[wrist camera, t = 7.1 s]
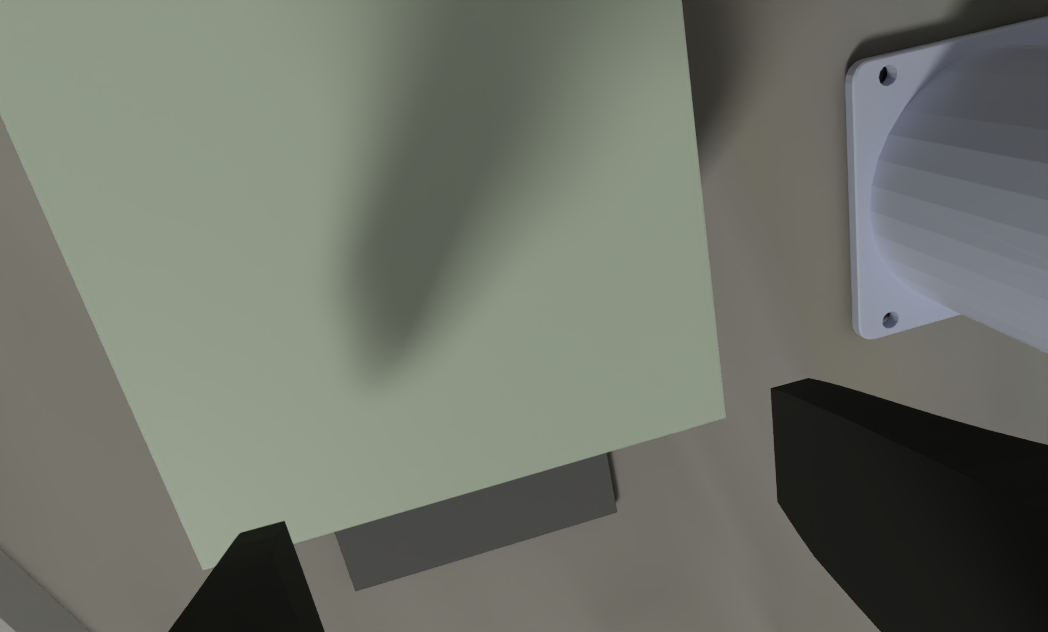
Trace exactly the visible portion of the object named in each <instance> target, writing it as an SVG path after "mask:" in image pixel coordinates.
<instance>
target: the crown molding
mask: <svg viewBox="0 0 1048 632" xmlns="http://www.w3.org/2000/svg"><path fill="white" fill-rule="evenodd" d="M0 632H90V631H88V630H87V629H86V628H85V627H84V626H83V625H82V624H81V623H80V622H79V621H78V620H76V619H75V618H74V617H73V616H72V615H71V614H70V613H69V612H68V611H67V610H66V609H64V608H63V607H62V606H61V605H60V604H59V603H58V602H57V601H56V600H55V599H54V598H53V597H51V596H50V595H49V594H48V593H47V592H46V591H45V590H44V589H43V588H42V587H41V586H39V585H38V584H37V583H36V582H35V581H34V580H33V579H32V578H31V577H30V576H29V575H28V574H26V573H25V572H24V571H23V570H22V569H21V568H20V567H19V566H18V565H17V564H16V563H14V562H13V561H12V560H11V559H10V558H9V557H8V556H7V555H6V554H5V553H4V552H2V551H1V550H0Z"/></svg>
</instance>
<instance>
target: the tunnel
mask: <svg viewBox="0 0 1048 632" xmlns="http://www.w3.org/2000/svg"><path fill="white" fill-rule="evenodd" d="M0 115H1V117H2V120H3V122H4V124H5V126H6V129H7V131H8V133H9V135H10V138H11V140H12V142H13V144H14V147H15V149H16V151H17V153H18V156H19V158H20V160H21V162H22V165H23V167H24V169H25V171H26V174H27V176H28V178H29V180H30V183H31V185H32V187H33V189H34V192H35V194H36V196H37V198H38V201H39V203H40V205H41V207H42V210H43V212H44V214H45V216H46V219H47V221H48V223H49V225H50V228H51V230H52V232H53V234H54V237H55V239H56V241H57V243H58V246H59V248H60V250H61V252H62V255H63V257H64V259H65V261H66V264H67V266H68V268H69V270H70V273H71V275H72V277H73V279H74V282H75V284H76V286H77V288H78V291H79V293H80V295H81V297H82V300H83V302H84V304H85V306H86V309H87V311H88V313H89V315H90V318H91V320H92V322H93V324H94V327H95V329H96V331H97V333H98V336H99V338H100V340H101V342H102V344H103V347H104V349H105V351H106V353H107V356H108V358H109V360H110V362H111V365H112V367H113V369H114V371H115V374H116V376H117V378H118V380H119V383H120V385H121V387H122V389H123V392H124V394H125V396H126V398H127V401H128V403H129V405H130V407H131V410H132V412H133V414H134V416H135V419H136V421H137V423H138V425H139V428H140V430H141V432H142V434H143V437H144V439H145V441H146V443H147V446H148V448H149V450H150V452H151V455H152V457H153V459H154V461H155V464H156V466H157V468H158V470H159V473H160V475H161V477H162V479H163V482H164V484H165V486H166V488H167V491H168V493H169V495H170V497H171V500H172V502H173V504H174V506H175V509H176V511H177V513H178V515H179V518H180V520H181V522H182V524H183V527H184V529H185V531H186V533H187V536H188V538H189V540H190V542H191V545H192V547H193V549H194V551H195V554H196V556H197V558H198V560H199V563H200V565H201V567H202V569H203V570H206V569H209V568H212V567H215V566H216V565H217V563H218V562H219V560H220V559H221V558H222V556H223V555H224V553H225V552H226V551H227V549H228V548H229V546H230V545H231V544H232V542H233V541H234V540H235V538H236V537H237V536H238V535H239V533H241V532H245V531H248V530H252V529H256V528H259V527H263V526H267V525H271V524H274V523H278V522H282V521H285V523H286V526H287V528H288V531H289V534H290V537H291V540H292V542H293V544H295V543H298V542H302V541H305V540H308V539H312V538H315V537H319V536H322V535H326V534H329V533H332V532H336V531H339V530H343V529H346V528H350V527H353V526H356V525H360V524H363V523H367V522H370V521H374V520H377V519H381V518H384V517H387V516H391V515H394V514H398V513H401V512H405V511H408V510H411V509H415V508H418V507H422V506H425V505H429V504H432V503H435V502H439V501H442V500H446V499H449V498H453V497H456V496H459V495H463V494H466V493H470V492H473V491H477V490H480V489H483V488H487V487H490V486H494V485H497V484H501V483H504V482H507V481H511V480H514V479H518V478H521V477H525V476H528V475H531V474H535V473H538V472H542V471H545V470H549V469H552V468H555V467H559V466H562V465H566V464H569V463H573V462H576V461H579V460H583V459H586V458H590V457H593V456H597V455H600V454H603V453H607V452H610V451H614V450H617V449H621V448H624V447H627V446H631V445H634V444H638V443H641V442H645V441H648V440H651V439H655V438H658V437H662V436H665V435H669V434H672V433H676V432H679V431H682V430H686V429H689V428H693V427H696V426H700V425H703V424H706V423H710V422H713V421H717V420H720V419H724V418H726V416H725V407H724V397H723V388H722V378H721V369H720V359H719V350H718V340H717V331H716V321H715V312H714V302H713V293H712V283H711V274H710V264H709V255H708V245H707V236H706V227H705V217H704V208H703V198H702V189H701V179H700V170H699V160H698V151H697V141H696V132H695V122H694V113H693V103H692V94H691V84H690V75H689V65H688V56H687V46H686V37H685V27H684V18H683V8H682V0H0Z"/></svg>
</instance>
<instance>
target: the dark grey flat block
mask: <svg viewBox="0 0 1048 632" xmlns="http://www.w3.org/2000/svg"><path fill="white" fill-rule="evenodd" d="M616 512H617V508H616V502H615V497H614V491H613V486H612V480H611V474H610V469H609V463H608V457H607V453H603V454H600V455H597V456H593V457H590V458H586V459H583V460H579V461H576V462H573V463H569V464H566V465H562V466H559V467H555V468H552V469H549V470H545V471H542V472H538V473H535V474H531V475H528V476H525V477H521V478H518V479H514V480H511V481H507V482H504V483H501V484H497V485H494V486H490V487H487V488H483V489H480V490H477V491H473V492H470V493H466V494H463V495H459V496H456V497H453V498H449V499H446V500H442V501H439V502H435V503H432V504H429V505H425V506H422V507H418V508H415V509H411V510H408V511H405V512H401V513H398V514H394V515H391V516H387V517H384V518H381V519H377V520H374V521H370V522H367V523H363V524H360V525H356V526H353V527H350V528H346V529H343V530H339V531H336V532H335V535H336V538H337V540H338V543H339V546H340V549H341V552H342V554H343V557H344V560H345V563H346V566H347V569H348V571H349V574H350V577H351V580H352V583H353V586H354V588H355V591H358V590H362V589H365V588H368V587H372V586H375V585H378V584H382V583H385V582H388V581H392V580H395V579H398V578H401V577H405V576H408V575H411V574H415V573H418V572H421V571H425V570H428V569H431V568H435V567H438V566H441V565H444V564H448V563H451V562H454V561H458V560H461V559H464V558H468V557H471V556H474V555H477V554H481V553H484V552H487V551H491V550H494V549H497V548H501V547H504V546H507V545H511V544H514V543H517V542H520V541H524V540H527V539H530V538H534V537H537V536H540V535H544V534H547V533H550V532H554V531H557V530H560V529H563V528H567V527H570V526H573V525H577V524H580V523H583V522H587V521H590V520H593V519H597V518H600V517H603V516H606V515H610V514H613V513H616Z"/></svg>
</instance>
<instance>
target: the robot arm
mask: <svg viewBox="0 0 1048 632" xmlns="http://www.w3.org/2000/svg"><path fill="white" fill-rule="evenodd" d="M883 67H886V68H887V72H888V73H887V77H886V79H885V81H884V82H883V83H880V81H879V74H880V71H881V70H882V68H883ZM845 97H846V129H847V162H848V194H849V226H850V259H851V291H852V323H853V328H854V331H855V332H856V333H857V334H858V335H860V336H862V337H863V338H866V339H868V340H869V339H876V338H880V337H883V336H887V335H890V334H894V333H897V332H901V331H904V330H908V329H911V328H915V327H918V326H922V325H925V324H929V323H932V322H936V321H939V320H943V319H946V318H950V317H953V316H957V315H960V314H962V315H964V316H967V317H969V318H971V319H973V320H975V321H978V322H980V323H982V324H984V325H986V326H988V327H991V328H993V329H995V330H997V331H999V332H1002V333H1004V334H1006V335H1008V336H1010V337H1012V338H1015V339H1017V340H1019V341H1021V342H1023V343H1026V344H1028V345H1030V346H1032V347H1034V348H1036V349H1039V350H1041V351H1043V352H1045V353H1047V354H1048V16H1044V17H1040V18H1036V19H1031V20H1027V21H1023V22H1019V23H1014V24H1010V25H1006V26H1001V27H997V28H993V29H989V30H984V31H980V32H976V33H971V34H967V35H963V36H959V37H954V38H950V39H946V40H941V41H937V42H933V43H929V44H924V45H920V46H916V47H911V48H907V49H903V50H899V51H894V52H890V53H886V54H881V55H877V56H873V57H869V58H864V59H861V60H859V61H857V62H855V63H854V64H853V65H852V66H851V67H850V68H849V70H848V72H847V74H846V80H845ZM889 312H890V315H889V318H888V319H887V321H886V322H884V323H882V322H883V318H884V316H885V315H886V314H887V313H889ZM771 402H772V418H773V435H774V451H775V467H776V484H777V500H778V503H779V505H780V506H781V508H782V509H783V511H784V512H785V514H786V516H787V517H788V519H789V520H790V522H791V523H792V525H793V526H794V528H795V529H796V531H797V532H798V534H799V535H800V537H801V538H802V540H803V541H804V542H805V544H806V545H807V547H808V548H809V550H810V551H811V552H812V554H813V555H814V557H815V558H816V559H817V560H818V561H819V562H820V564H821V565H822V566H823V567H824V568H825V569H826V571H827V572H828V573H829V574H830V575H831V576H832V577H833V579H834V580H835V581H836V582H837V583H838V584H839V585H840V587H841V588H842V589H843V590H844V591H845V592H846V593H847V594H848V596H849V597H850V598H851V599H852V600H853V601H854V602H855V603H856V605H857V606H858V607H859V608H860V609H861V610H862V611H863V612H864V613H865V615H866V616H867V617H868V618H869V619H870V620H871V621H872V622H873V624H874V625H875V626H876V627H877V628H878V629H879V630H880V631H881V632H1048V445H1046V444H1042V443H1037V442H1033V441H1029V440H1026V439H1022V438H1018V437H1014V436H1010V435H1006V434H1002V433H998V432H994V431H990V430H986V429H983V428H979V427H976V426H972V425H969V424H965V423H961V422H958V421H955V420H951V419H948V418H944V417H941V416H938V415H934V414H931V413H928V412H924V411H921V410H918V409H915V408H911V407H908V406H905V405H902V404H898V403H895V402H892V401H889V400H885V399H882V398H879V397H876V396H873V395H869V394H866V393H863V392H860V391H856V390H853V389H849V388H846V387H843V386H839V385H835V384H832V383H828V382H824V381H820V380H815V379H810V378H807V379H803V380H800V381H796V382H792V383H789V384H785V385H781V386H778V387H774V388H771ZM169 632H324V629H323V626H322V623H321V620H320V618H319V615H318V612H317V609H316V606H315V604H314V601H313V598H312V595H311V593H310V590H309V587H308V584H307V581H306V579H305V576H304V573H303V570H302V567H301V565H300V562H299V559H298V556H297V554H296V551H295V548H294V545H293V542H292V540H291V537H290V534H289V531H288V528H287V526H286V523H285V521H282V522H278V523H274V524H271V525H267V526H263V527H259V528H256V529H252V530H248V531H245V532H241V533H239V535H238V536H237V537H236V538H235V540H234V541H233V542H232V544H231V545H230V546H229V548H228V549H227V551H226V552H225V553H224V555H223V556H222V558H221V559H220V560H219V562H218V563H217V565H216V566H215V568H214V569H213V570H212V572H211V573H210V575H209V576H208V578H207V579H206V580H205V582H204V583H203V585H202V586H201V587H200V589H199V590H198V592H197V593H196V595H195V596H194V597H193V599H192V600H191V601H190V603H189V604H188V606H187V607H186V608H185V610H184V611H183V612H182V614H181V615H180V616H179V618H178V619H177V621H176V622H175V623H174V625H173V626H172V627H171V629H170V630H169Z"/></svg>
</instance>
